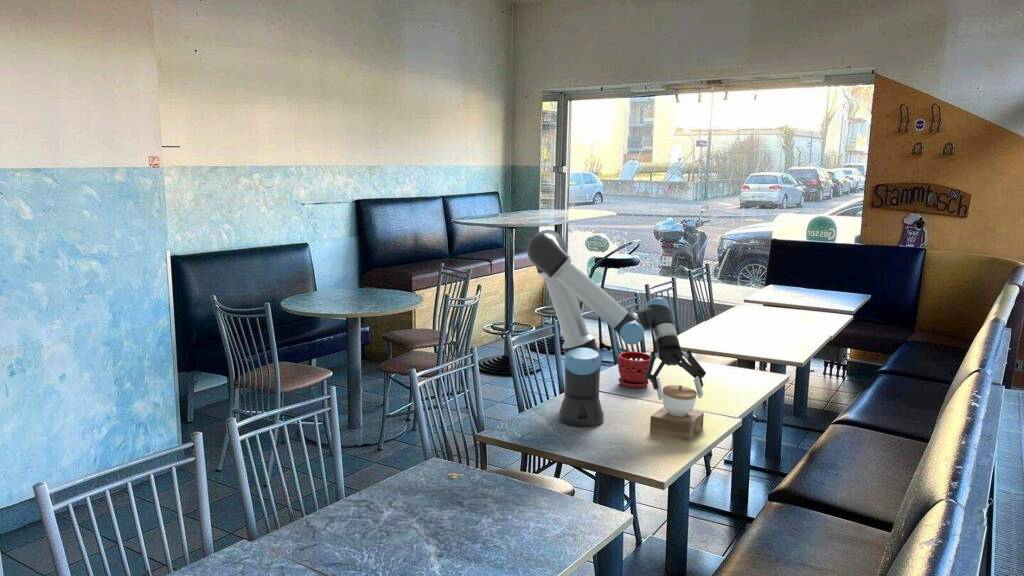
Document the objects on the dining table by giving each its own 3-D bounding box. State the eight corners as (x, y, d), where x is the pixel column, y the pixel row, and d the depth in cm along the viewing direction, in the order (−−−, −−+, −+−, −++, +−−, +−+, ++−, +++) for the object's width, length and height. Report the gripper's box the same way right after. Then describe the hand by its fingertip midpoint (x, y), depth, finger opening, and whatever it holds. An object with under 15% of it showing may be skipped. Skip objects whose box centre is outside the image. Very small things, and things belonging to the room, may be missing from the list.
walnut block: (688, 442, 228) (689, 424, 227) (649, 433, 235) (650, 415, 234) (702, 430, 239) (703, 412, 238) (665, 422, 246) (665, 405, 245)
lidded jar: (658, 415, 232) (661, 388, 231) (662, 405, 242) (665, 378, 241) (692, 421, 229) (696, 393, 228) (695, 410, 239) (698, 383, 238)
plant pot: (615, 388, 281) (616, 358, 279) (619, 379, 294) (620, 350, 292) (650, 391, 278) (651, 360, 276) (652, 381, 291) (653, 352, 289)
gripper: (698, 344, 249) (714, 401, 237) (628, 346, 246) (640, 403, 234) (705, 333, 243) (721, 390, 231) (633, 334, 240) (646, 393, 228)
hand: (681, 397), depth 232 cm, fingers open, 13 cm apart
